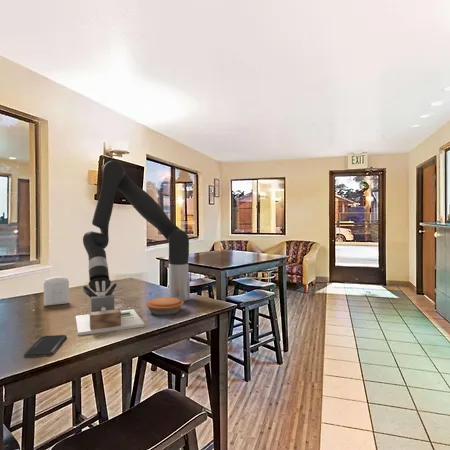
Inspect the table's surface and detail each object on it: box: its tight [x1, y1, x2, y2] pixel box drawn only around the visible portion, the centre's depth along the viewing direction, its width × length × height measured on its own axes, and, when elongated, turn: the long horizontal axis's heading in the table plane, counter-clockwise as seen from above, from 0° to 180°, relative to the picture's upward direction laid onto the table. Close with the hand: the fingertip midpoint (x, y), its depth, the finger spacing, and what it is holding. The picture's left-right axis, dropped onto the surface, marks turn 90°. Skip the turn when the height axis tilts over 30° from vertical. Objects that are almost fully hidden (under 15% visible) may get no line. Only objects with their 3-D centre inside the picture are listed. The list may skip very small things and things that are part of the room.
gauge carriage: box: [90, 294, 130, 315], centre depth 128 cm, size 14×7×8 cm, turn 115°
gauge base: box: [75, 308, 145, 336], centre depth 128 cm, size 22×21×1 cm
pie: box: [145, 296, 185, 316], centre depth 143 cm, size 15×16×5 cm
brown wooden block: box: [89, 308, 122, 330], centre depth 120 cm, size 10×4×5 cm, turn 115°
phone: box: [23, 334, 67, 358], centre depth 104 cm, size 8×1×15 cm
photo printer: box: [43, 276, 70, 307], centre depth 154 cm, size 10×4×12 cm, turn 123°
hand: (101, 307), depth 130 cm, fingers closed
